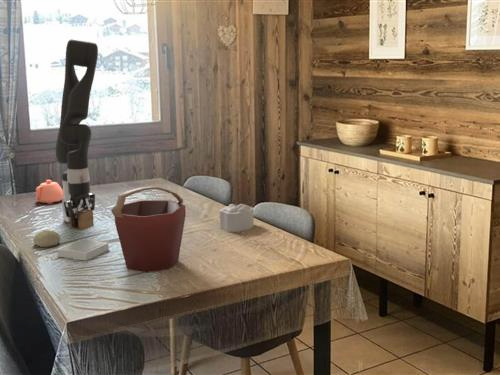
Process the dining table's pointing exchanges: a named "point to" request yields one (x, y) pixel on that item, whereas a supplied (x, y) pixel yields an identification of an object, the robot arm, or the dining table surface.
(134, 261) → the bucket
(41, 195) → the sugar bowl
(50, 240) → the sea urchin shell
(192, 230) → the dining table surface
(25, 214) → the dining table surface
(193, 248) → the dining table surface
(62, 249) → the tray
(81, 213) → the walnut cube
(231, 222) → the lumpy-topped squat cylinder
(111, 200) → the dining table surface
